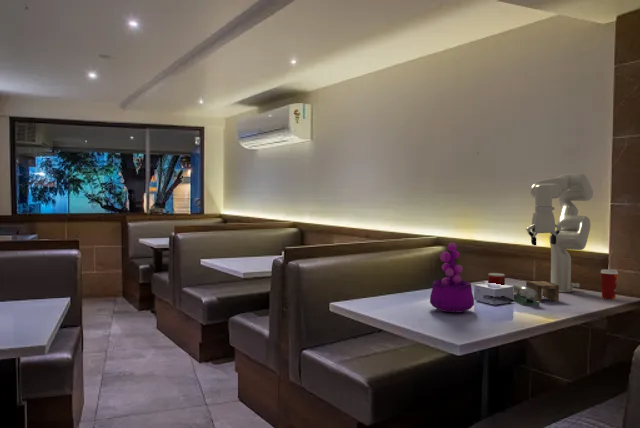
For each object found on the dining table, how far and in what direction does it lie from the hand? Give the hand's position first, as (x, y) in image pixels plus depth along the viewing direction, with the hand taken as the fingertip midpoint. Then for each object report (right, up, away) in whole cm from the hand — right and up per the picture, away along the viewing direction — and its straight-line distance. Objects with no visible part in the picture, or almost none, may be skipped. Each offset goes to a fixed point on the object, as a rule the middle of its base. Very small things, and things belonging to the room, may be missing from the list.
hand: (543, 244), depth 245 cm
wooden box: (-2, -26, -2) cm, 26 cm away
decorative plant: (-52, -28, -27) cm, 65 cm away
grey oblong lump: (-13, -24, -9) cm, 29 cm away
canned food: (-21, -26, +6) cm, 34 cm away
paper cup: (+31, -27, -1) cm, 41 cm away
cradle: (-13, -27, -10) cm, 31 cm away
